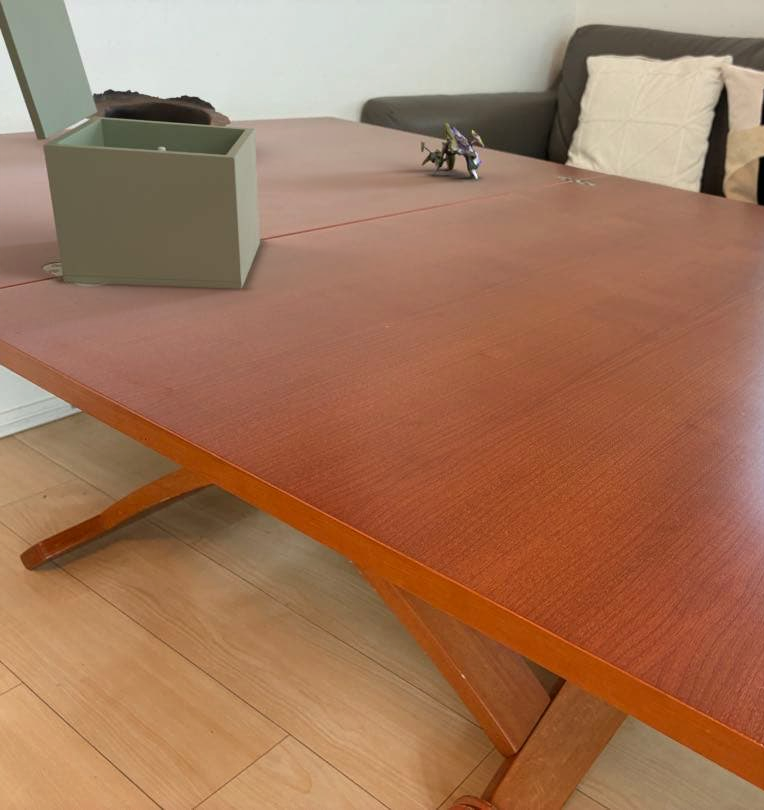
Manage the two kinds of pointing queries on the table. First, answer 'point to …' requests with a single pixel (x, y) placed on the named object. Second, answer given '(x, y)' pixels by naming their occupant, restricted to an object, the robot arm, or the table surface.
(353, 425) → the table surface
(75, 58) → the chest lid
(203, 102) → the stone bowl
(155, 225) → the chest
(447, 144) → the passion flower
